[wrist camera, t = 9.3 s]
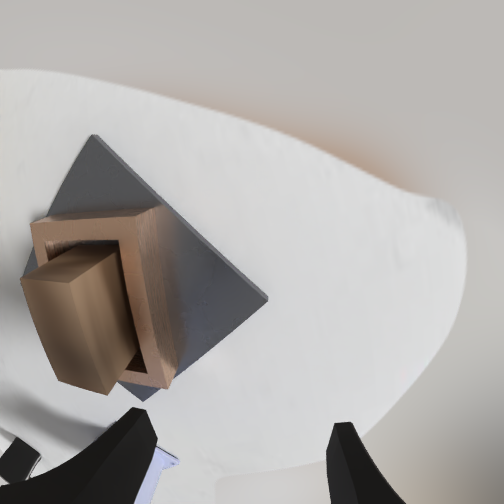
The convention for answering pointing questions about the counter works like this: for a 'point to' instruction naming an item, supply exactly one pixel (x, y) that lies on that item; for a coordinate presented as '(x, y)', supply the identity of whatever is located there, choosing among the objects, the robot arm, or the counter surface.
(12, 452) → the battery charger
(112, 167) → the duct collar
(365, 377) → the counter surface
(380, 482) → the robot arm
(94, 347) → the block
